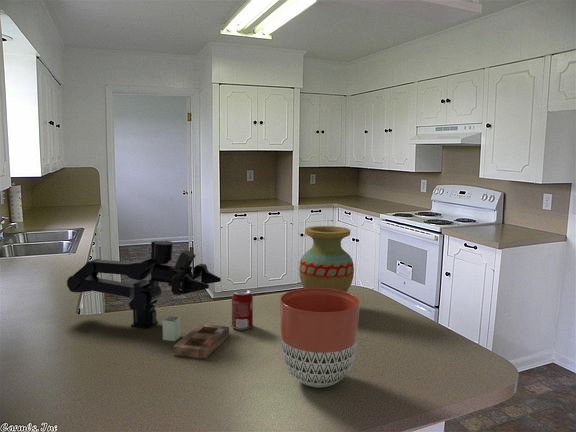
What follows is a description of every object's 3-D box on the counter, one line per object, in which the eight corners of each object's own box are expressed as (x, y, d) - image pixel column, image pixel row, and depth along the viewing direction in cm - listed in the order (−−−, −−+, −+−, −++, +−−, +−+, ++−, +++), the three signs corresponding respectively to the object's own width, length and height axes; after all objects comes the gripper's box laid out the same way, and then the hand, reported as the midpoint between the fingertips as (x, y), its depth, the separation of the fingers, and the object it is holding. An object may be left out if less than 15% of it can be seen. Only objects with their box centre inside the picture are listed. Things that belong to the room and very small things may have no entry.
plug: (162, 339, 140) (162, 319, 139) (169, 334, 144) (168, 315, 143) (174, 341, 139) (174, 321, 138) (180, 336, 143) (180, 316, 142)
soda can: (249, 331, 147) (249, 295, 146) (229, 330, 149) (229, 294, 147) (254, 324, 154) (255, 289, 152) (235, 322, 155) (235, 288, 154)
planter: (298, 409, 103) (300, 317, 100) (267, 371, 121) (268, 292, 118) (372, 392, 111) (375, 306, 108) (332, 359, 128) (334, 284, 125)
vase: (364, 312, 167) (367, 231, 163) (320, 323, 155) (323, 236, 151) (329, 298, 183) (331, 223, 179) (287, 307, 172) (289, 227, 168)
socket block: (173, 354, 130) (173, 345, 129) (199, 331, 147) (199, 322, 147) (206, 358, 127) (206, 348, 127) (229, 334, 145) (229, 325, 144)
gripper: (156, 255, 138) (204, 263, 134) (185, 245, 156) (228, 253, 152) (153, 291, 139) (201, 300, 135) (182, 277, 157) (225, 285, 153)
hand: (214, 283), depth 144 cm, fingers open, 9 cm apart
